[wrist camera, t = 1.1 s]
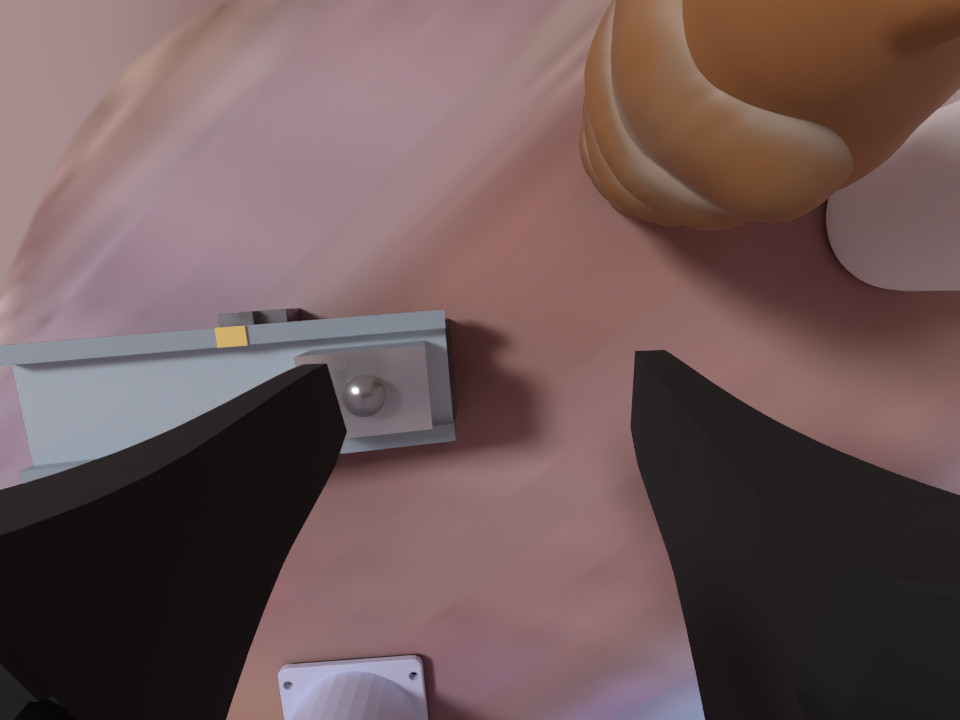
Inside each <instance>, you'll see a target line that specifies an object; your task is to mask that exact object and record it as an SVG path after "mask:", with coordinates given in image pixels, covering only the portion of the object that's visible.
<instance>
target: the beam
mask: <svg viewBox="0 0 960 720" xmlns="http://www.w3.org/2000/svg"><path fill="white" fill-rule="evenodd" d="M445 328H446V325H445V314H444V310H443V309H442V310H429V311H417V312H404V313H392V314H380V315H367V316H355V317H343V318H330V319H318V320H306V321H293V322H281V323H268V324H256V325H244V326H231V327H219V328H207V329H194V330H182V331H170V332H157V333H145V334H133V335H120V336H108V337H95V338H83V339H71V340H58V341H46V342H34V343H22V344H12V345H2V346H0V366H6V365H12V366H13V371H14V375H15V380H16V385H17V390H18V394H19V399H20V404H21V409H22V413H23V418H24V423H25V428H26V432H27V437H28V442H29V447H30V451H31V456H32V461H33V466H32V467H29V468H27V469H25V470H22V471H20V476H21V481H22V484H23V483H27V482H30V481H33V480H36V479H40V478H43V477H46V476H49V475H53V474H56V473H59V472H62V471H65V470H67V469H70V468H73V467H76V466H79V465H82V464H84V463H87V462H90V461H93V460H96V459H99V458H101V457H104V456H107V455H110V454H113V453H116V452H118V451H121V450H123V449H126V448H128V447H131V446H133V445H136V444H138V443H140V442H143V441H145V440H148V439H150V438H153V437H155V436H157V435H160V434H162V433H164V432H166V431H169V430H171V429H173V428H175V427H177V426H179V425H182V424H184V423H186V422H188V421H190V420H192V419H194V418H196V417H198V416H200V415H202V414H204V413H206V412H208V411H210V410H212V409H214V408H216V407H218V406H220V405H222V404H224V403H226V402H228V401H230V400H232V399H233V398H235V397H237V396H239V395H241V394H243V393H245V392H247V391H249V390H250V389H252V388H254V387H256V386H258V385H260V384H262V383H264V382H266V381H268V380H269V379H271V378H273V377H275V376H277V375H279V374H281V373H283V372H286V371H288V370H290V369H292V368H295V363H294V357H296V356H298V355H300V354H303V353H305V352H308V351H310V350H315V349H326V348H337V347H349V346H360V345H371V344H383V343H394V342H406V341H417V340H424V343H425V353H426V364H427V374H428V385H429V396H430V406H431V417H432V427H433V429H428V430H419V431H410V432H401V433H392V434H383V435H374V436H365V437H356V438H347V439H344V442H343V445H342V448H341V451H340V454H345V453H353V452H362V451H371V450H380V449H389V448H397V447H406V446H415V445H424V444H432V443H441V442H450V441H456V439H455V427H454V421H453V413H452V402H451V390H450V379H449V368H448V356H447V345H446V334H445Z"/></svg>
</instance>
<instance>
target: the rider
mask: <svg viewBox="0 0 960 720" xmlns="http://www.w3.org/2000/svg"><path fill="white" fill-rule="evenodd" d="M294 363H295V367H297V366H300V365H303V364H322V363H327V365H328V369H329V372H330V375H331V379H332V382H333V386H334V389H335V392H336V396H337V399H338V403H339V406H340V409H341V413H342V416H343V419H344V423H345V426H346V430H347V433H346V436H345V439H347V438H356V437H365V436H374V435H383V434H392V433H401V432H410V431H419V430H428V429H433V427H432V417H431V406H430V396H429V385H428V374H427V364H426V353H425V343H424V340H417V341H406V342H394V343H383V344H371V345H360V346H349V347H337V348H326V349H315V350H310V351H308V352H305V353H303V354H300V355H298V356H296V357H294Z"/></svg>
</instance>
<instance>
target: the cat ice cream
mask: <svg viewBox="0 0 960 720" xmlns="http://www.w3.org/2000/svg"><path fill="white" fill-rule="evenodd" d="M584 80H585V96H584V103H583V124H582V128H581V134H580V155H581V159H582V163H583V166H584V168H585V170H586V172H587V174H588V175H589V177H590V178H591V180H592V182H593V184H594V186H595V188H596V189H597V190H598V191H599V192H600V194H601V195H602V196H603V197H604V198H605V199H607V200H608V201H609V203H610V204H611V205H612V207H613V208H614V209H615V210H616V211H618V212H619V213H621V214H622V215H624V216H626V217H628V218H632V219H639V220H645V221H649V222H652V223H655V224H658V225H661V226H667V227H678V226H684V225H685V226H687V227H690V228H692V229H696V230H700V231H712V230H724V229H730V228H735V227H738V226H740V225H742V224H744V223H746V222H749V221H754V222H760V223H781V222H786V221H791V220H794V219H797V218H799V217H801V216H804V215H805V214H807V213H809V212H811V211H812V210H814V209H815V208H816V207H818V206H819V205H820V204H822V203H823V202H824V201H825V200H827V199H828V198H829V197H830V196H831V195H833V194H834V193H835V192H836V191H838V190H841V189H843V188H845V187H847V186H849V185H851V184H853V183H854V182H856V181H858V180H860V179H861V178H863V177H864V176H866V175H868V174H869V173H871V172H872V171H874V170H875V169H876V168H878V167H879V166H880V165H882V164H883V163H884V162H885V161H886V160H888V159H889V158H890V157H891V156H892V155H893V154H894V153H895V152H896V151H897V150H898V149H899V148H900V147H901V146H902V145H903V144H904V142H905V141H906V140H907V139H908V138H909V137H910V135H911V134H912V133H913V132H914V131H915V130H916V129H917V128H918V127H919V126H920V125H921V124H922V123H923V122H924V121H925V120H926V119H927V118H929V117H930V116H931V115H932V114H933V113H934V112H935V111H936V110H937V109H938V108H940V107H941V106H942V105H943V104H944V103H945V102H946V101H947V100H948V99H949V98H950V97H951V96H952V95H953V94H954V93H955V92H956V91H957V90H959V89H960V0H613V2H612V3H611V5H610V6H609V8H608V9H607V11H606V12H605V14H604V16H603V18H602V20H601V22H600V24H599V26H598V29H597V31H596V34H595V36H594V39H593V41H592V44H591V47H590V50H589V53H588V57H587V61H586V66H585V74H584Z"/></svg>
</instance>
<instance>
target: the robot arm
mask: <svg viewBox="0 0 960 720" xmlns="http://www.w3.org/2000/svg"><path fill="white" fill-rule="evenodd" d="M631 432H632V437H633V443H634V448H635V453H636V458H637V463H638V467H639V470H640V473H641V476H642V479H643V482H644V485H645V488H646V491H647V494H648V497H649V500H650V503H651V505H652V508H653V511H654V514H655V517H656V520H657V523H658V526H659V529H660V532H661V535H662V538H663V540H664V543H665V546H666V549H667V552H668V555H669V559H670V562H671V566H672V569H673V572H674V576H675V580H676V585H677V589H678V594H679V598H680V602H681V607H682V611H683V615H684V620H685V624H686V629H687V634H688V638H689V643H690V648H691V652H692V657H693V662H694V666H695V671H696V676H697V681H698V686H699V691H700V696H701V701H702V706H703V711H704V716H705V720H960V495H957V494H954V493H951V492H948V491H945V490H942V489H939V488H936V487H933V486H929V485H927V484H924V483H921V482H918V481H915V480H912V479H910V478H907V477H904V476H901V475H898V474H896V473H893V472H890V471H888V470H885V469H883V468H880V467H878V466H875V465H873V464H870V463H867V462H865V461H862V460H860V459H857V458H855V457H852V456H850V455H847V454H845V453H843V452H840V451H838V450H836V449H833V448H831V447H829V446H826V445H824V444H822V443H820V442H818V441H816V440H814V439H812V438H810V437H807V436H805V435H803V434H801V433H799V432H797V431H795V430H793V429H791V428H789V427H787V426H785V425H783V424H781V423H779V422H777V421H775V420H773V419H772V418H770V417H768V416H766V415H765V414H763V413H761V412H759V411H758V410H756V409H754V408H752V407H751V406H749V405H747V404H746V403H744V402H742V401H741V400H739V399H737V398H736V397H734V396H732V395H731V394H729V393H728V392H726V391H725V390H723V389H722V388H720V387H718V386H717V385H715V384H714V383H712V382H711V381H709V380H708V379H707V378H705V377H704V376H702V375H701V374H699V373H698V372H696V371H695V370H694V369H692V368H691V367H689V366H688V365H686V364H685V363H684V362H682V361H681V360H679V359H678V358H676V357H675V356H673V355H672V354H670V353H669V352H667V351H665V350H653V351H635V363H634V379H633V396H632V412H631ZM346 433H347V430H346V426H345V423H344V419H343V416H342V413H341V409H340V406H339V403H338V399H337V396H336V392H335V389H334V386H333V382H332V379H331V375H330V372H329V369H328V365H327V363H322V364H303V365H300V366H297V367H295V368H292V369H290V370H288V371H286V372H283V373H281V374H279V375H277V376H275V377H273V378H271V379H269V380H268V381H266V382H264V383H262V384H260V385H258V386H256V387H254V388H252V389H250V390H249V391H247V392H245V393H243V394H241V395H239V396H237V397H235V398H233V399H232V400H230V401H228V402H226V403H224V404H222V405H220V406H218V407H216V408H214V409H212V410H210V411H208V412H206V413H204V414H202V415H200V416H198V417H196V418H194V419H192V420H190V421H188V422H186V423H184V424H182V425H179V426H177V427H175V428H173V429H171V430H169V431H166V432H164V433H162V434H160V435H157V436H155V437H153V438H150V439H148V440H145V441H143V442H140V443H138V444H136V445H133V446H131V447H128V448H126V449H123V450H121V451H118V452H116V453H113V454H110V455H107V456H104V457H101V458H99V459H96V460H93V461H90V462H87V463H84V464H82V465H79V466H76V467H73V468H70V469H67V470H65V471H62V472H59V473H56V474H53V475H49V476H46V477H43V478H40V479H36V480H33V481H30V482H27V483H23V484H20V485H16V486H13V487H9V488H6V489H2V490H0V720H226V718H227V714H228V711H229V708H230V705H231V702H232V699H233V696H234V693H235V690H236V687H237V684H238V681H239V678H240V675H241V672H242V669H243V667H244V664H245V661H246V658H247V655H248V652H249V649H250V646H251V644H252V641H253V638H254V636H255V633H256V631H257V628H258V625H259V623H260V620H261V617H262V615H263V612H264V609H265V607H266V604H267V602H268V599H269V597H270V594H271V592H272V590H273V587H274V585H275V582H276V580H277V578H278V575H279V573H280V570H281V568H282V566H283V563H284V561H285V559H286V557H287V555H288V553H289V551H290V549H291V547H292V545H293V543H294V541H295V539H296V538H297V536H298V534H299V532H300V530H301V528H302V527H303V525H304V523H305V521H306V519H307V517H308V516H309V514H310V512H311V510H312V508H313V506H314V505H315V503H316V501H317V499H318V497H319V495H320V494H321V492H322V490H323V488H324V486H325V484H326V482H327V480H328V479H329V477H330V475H331V473H332V471H333V469H334V467H335V464H336V462H337V459H338V457H339V454H340V451H341V448H342V445H343V442H344V439H345V436H346ZM411 672H416V673H417V674H416V675H413V674H411ZM278 680H279V687H280V694H281V700H282V707H283V714H284V720H428V710H427V701H426V691H425V681H424V672H423V662H422V659H421V658H420V657H418V656H416V655H407V656H394V657H381V658H367V659H354V660H340V661H327V662H313V663H300V664H288V665H284V666H283V667H282V668H281V670H280V672H279V674H278ZM287 681H289V682H291V683H292V684H289V683H287Z"/></svg>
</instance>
